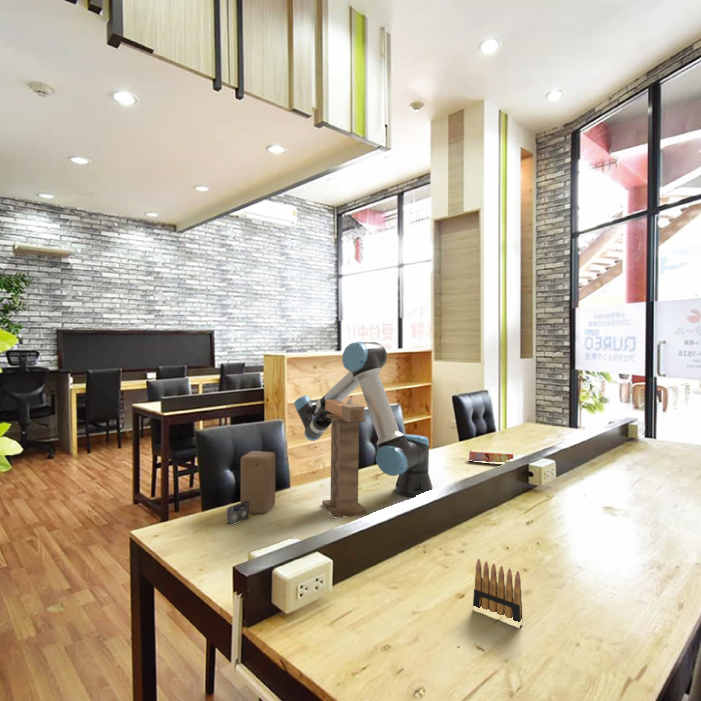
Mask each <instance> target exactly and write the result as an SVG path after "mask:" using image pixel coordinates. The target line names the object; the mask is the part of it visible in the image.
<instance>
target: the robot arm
mask: <svg viewBox="0 0 701 701" xmlns="http://www.w3.org/2000/svg"><path fill="white" fill-rule="evenodd" d="M341 359H342V364H343V367H344V369H345V370H346V371H347V370H348V372H347V373H346V374H345V375H344V376H342V378H341V379H340V380H339V381H338V382H337V383H336V384H334V386H333V387H332V388H330V389H329V390H328V392H326V393H325V394H324V395H323V396H322V397H321V398H319V399H311V398H310V396H309V395H303V396H300V397H298V398H297V399H296V400H295V401H294V402H293V404H294V407H295V408H294V409H295V410H296V412H297V414H298V416H299V419H300V420H301V422H302V425H303V427H304V436H305V438H306V439H307V440H309V441H311V442H315V441H317V440H319V439H320V438H321V437H322V436H323V434H324V433H325V431H326V430H327V429H328V428H329V427H331V419H329V418H327V417H326V414H333V413H331V412H329V411H327V410H325V400H334V399H335V400H338V401H340V402H343V401H344V400H345V399H346V398H347V397H348V396H349V395H350V394H351V393H352V392H353V393H354V391H355V390H356V389H357V388H358V387H359V386H360V389H361V392H362V394H363V397H364V401H365V403H366V406H367V408H368V412H369V414H370V417H371V420H372V423H373V426H374V429H375V433H376V435H377V437H378V440H377V442H376V447H377V451H376V455H375V461H376V464H377V466H378V469H380V471H381V472H383V474H386V475H387V476H391V477H392V476H393V477H396V476H398V477H397V479H396V482H395V488H394V489H395V490H394V491H395V493H397V494H398V495H401V496H405V497H409V498H414V497H413V496H416V495H419V494H421V493H424V492H426V491H429V490H432V489H433V484H432V480H431V477H430V475H429V467H430V465H429V464H430V463H429V462H430V461H429V458H430V457H429V456H430V443H429V442H430V440H429V438H428V437H427V436H424V435H419V434H411V433H410V434H405V433H403V432H401V431H400V430H399V427H398V424H397V421H396V418H395V414H394V413H393V410H392V407H391V404H390V401H389V399H388V396H387V392H386V390H385V386H384V385H383V384H384V383H383V382H382V380H381V377H380V372H381V370H382V368H383V367H384V366H385V365H386V363H387V361H388V352H387V350H386V348H385V347H384V346H383V345H382V344H381V343H378V342H376V341H371V342H369V341H368V342H367V341H365V342H364V341H355V342H351V343H349V344H348V345H347V346H346V347H345V348H344V351H343V353H342V357H341ZM352 399H353V398H349V399H348V400H347V402H346V404H348V405H352V404H353V403H354V402H353V400H352Z"/></svg>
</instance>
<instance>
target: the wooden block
mask: <svg viewBox="0 0 701 701" xmlns="http://www.w3.org/2000/svg"><path fill="white" fill-rule="evenodd" d="M244 501H249V514H250V513H253V514H260V515H261V514H263V515H264V514H267V513H268V512H269V511H270V510H271V509H272V508H274V506H275V505H276V452H272V451H261V450H259V451H258V450H251V451H249V452H248V453H246V454H244V455H242V456H241V458H240V503H241V502H244Z"/></svg>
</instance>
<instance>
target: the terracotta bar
mask: <svg viewBox="0 0 701 701" xmlns="http://www.w3.org/2000/svg"><path fill="white" fill-rule="evenodd" d="M346 403H347V402H346ZM346 403H345V402H343V401H341V402H340V401H338V400H335V399H334V400H325V410H327V411H329V412H331V413H333V414H335V415H337V416H339V417H341V418H342V419H343V420H345V421H347V422H358V421H364V419H365V406H364V405H361V404H358V403H357V404H352V405H348V404H346Z"/></svg>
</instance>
